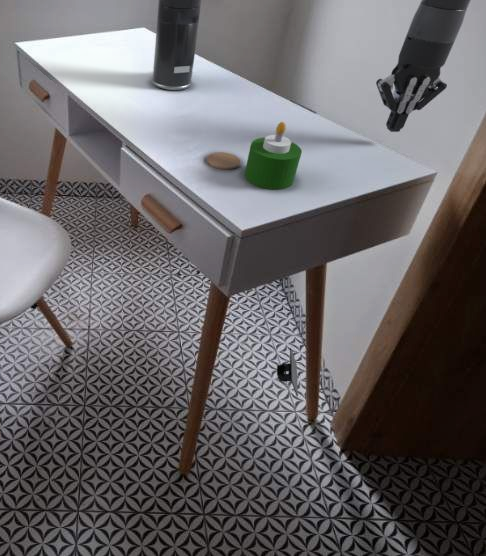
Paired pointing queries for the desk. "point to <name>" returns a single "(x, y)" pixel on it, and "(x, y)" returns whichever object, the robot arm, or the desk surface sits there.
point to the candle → (273, 161)
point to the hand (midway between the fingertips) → (392, 130)
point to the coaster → (223, 160)
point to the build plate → (292, 372)
